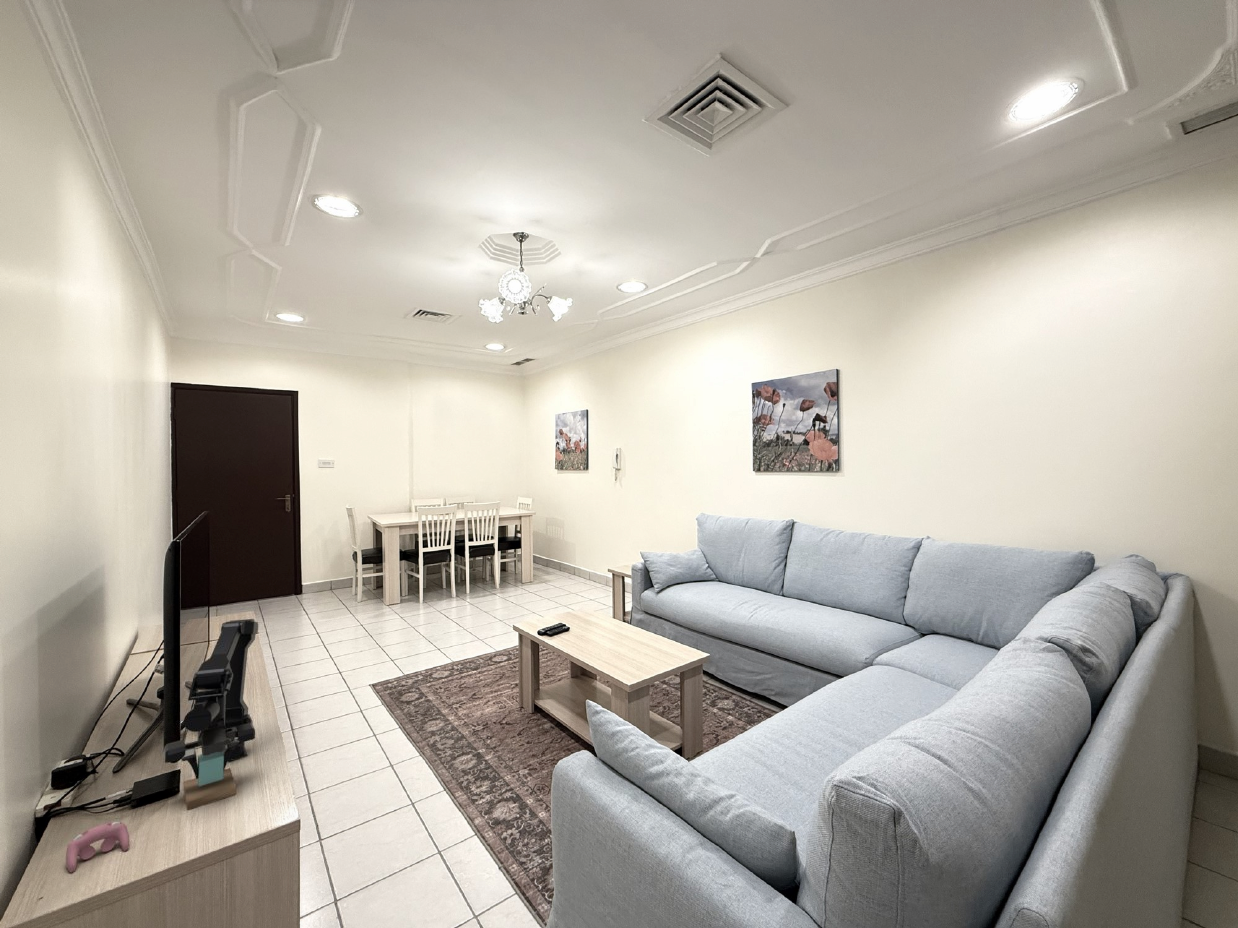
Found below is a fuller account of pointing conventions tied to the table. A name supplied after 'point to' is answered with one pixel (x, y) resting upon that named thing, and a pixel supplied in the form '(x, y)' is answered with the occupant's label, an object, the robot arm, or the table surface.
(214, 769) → the teal block
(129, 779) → the table surface
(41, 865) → the table surface
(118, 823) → the video game controller
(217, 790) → the base plinth
